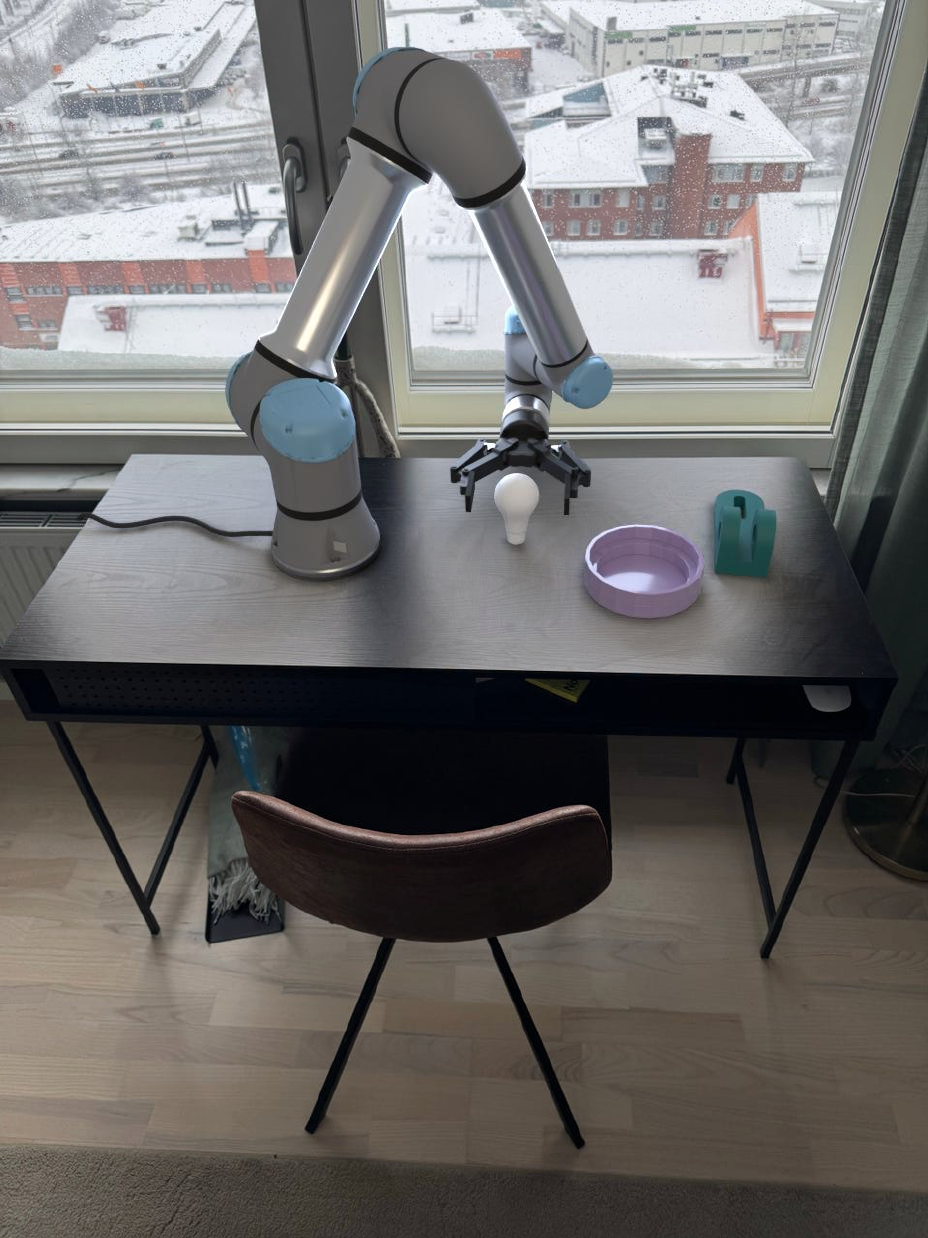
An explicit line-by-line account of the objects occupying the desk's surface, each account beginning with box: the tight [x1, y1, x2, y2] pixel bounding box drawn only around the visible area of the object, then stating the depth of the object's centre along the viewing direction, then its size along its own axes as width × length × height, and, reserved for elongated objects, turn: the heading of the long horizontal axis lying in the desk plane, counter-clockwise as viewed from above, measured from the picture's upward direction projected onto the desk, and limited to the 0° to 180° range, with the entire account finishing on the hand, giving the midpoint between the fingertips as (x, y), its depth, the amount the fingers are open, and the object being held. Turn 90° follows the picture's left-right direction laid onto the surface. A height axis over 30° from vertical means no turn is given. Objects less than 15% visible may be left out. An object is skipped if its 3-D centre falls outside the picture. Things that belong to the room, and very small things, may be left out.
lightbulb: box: [493, 472, 540, 546], centre depth 128 cm, size 6×6×11 cm
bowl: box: [583, 524, 706, 619], centre depth 122 cm, size 15×15×4 cm
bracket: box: [713, 489, 777, 579], centre depth 129 cm, size 18×7×8 cm, turn 169°
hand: (517, 505), depth 128 cm, fingers open, 13 cm apart
